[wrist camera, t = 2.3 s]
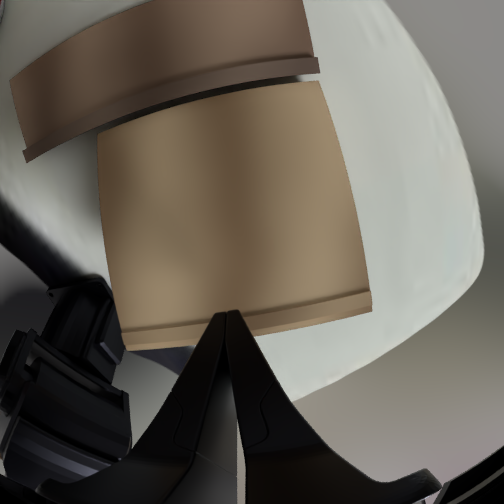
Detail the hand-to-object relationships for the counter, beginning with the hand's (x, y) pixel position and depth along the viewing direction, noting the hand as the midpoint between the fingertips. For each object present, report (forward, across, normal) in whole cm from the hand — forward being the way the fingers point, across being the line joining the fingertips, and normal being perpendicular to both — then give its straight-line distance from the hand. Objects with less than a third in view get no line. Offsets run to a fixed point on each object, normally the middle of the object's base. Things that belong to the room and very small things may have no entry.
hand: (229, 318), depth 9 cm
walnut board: (+8, +2, -10) cm, 13 cm away
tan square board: (+5, 0, -1) cm, 5 cm away
